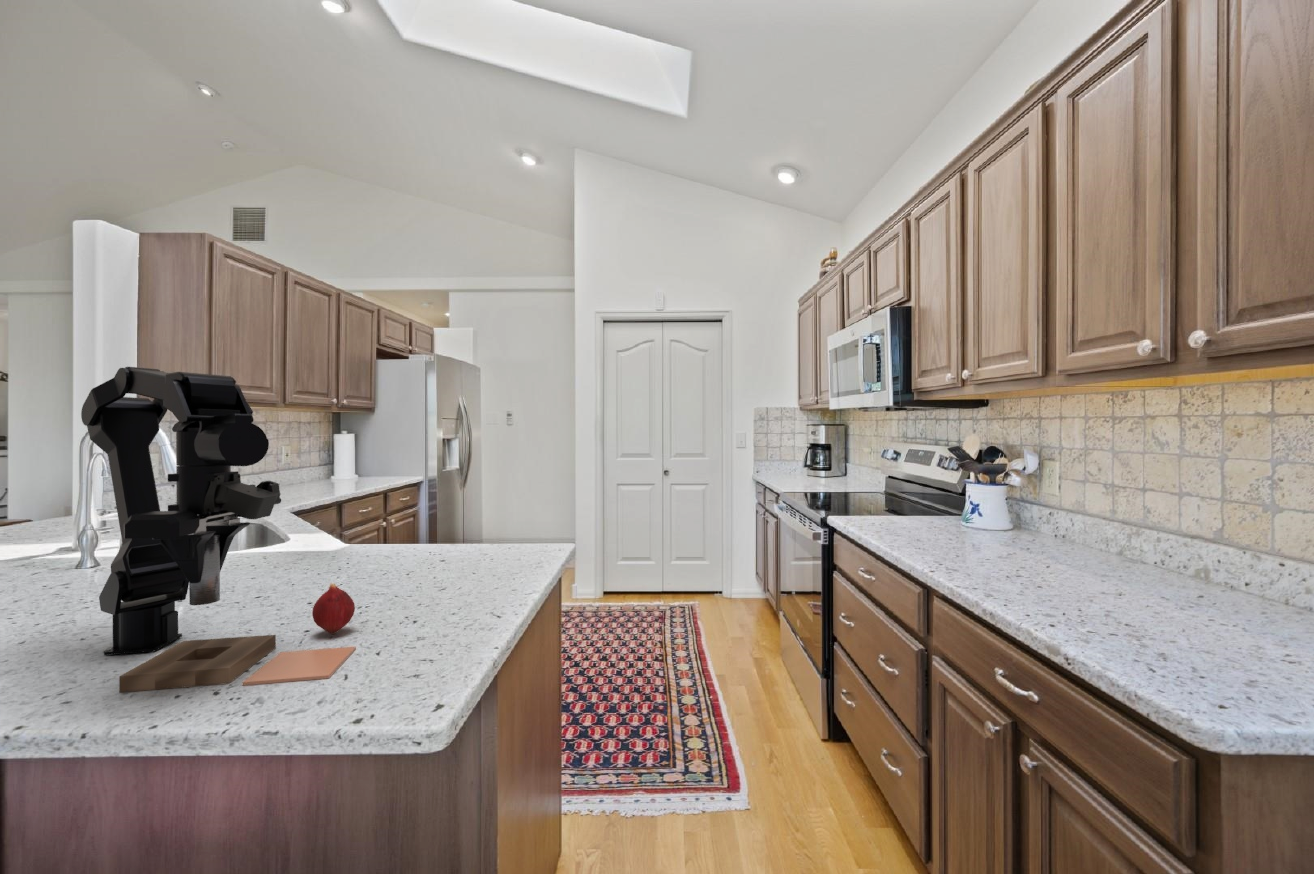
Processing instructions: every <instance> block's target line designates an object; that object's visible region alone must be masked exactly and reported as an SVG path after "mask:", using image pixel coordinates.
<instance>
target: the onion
mask: <svg viewBox="0 0 1314 874" xmlns="http://www.w3.org/2000/svg"><path fill="white" fill-rule="evenodd" d="M355 610H356V606H355V601H354V600H353V598H352V597H351V596H350V595H349V594H348V593H347V592H346V591H345V590H343V589H341V588H340V587H338V586H337V585H336V583H333V582H332V583H330V584H329V587H328V590H327V591H324V593H322V595H321V596H320V597H319V598H318V599H317V600H316V602H315V603H314V605H313V607H312V613H311V614H312V619H313V622H314V623H315V624H316V626H317V627H319V628H321V629H322V630H324V631H326V632H327V633H329V634H330V635H333V634H334V635H335V634H336V633H337V632H339V631H340V630H342V629H343V628H344V627H346V625H347V624H349V622H350V621H351V620H352V618H353V616H354V614H355Z"/></svg>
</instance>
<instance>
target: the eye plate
mask: <svg viewBox="0 0 1314 874" xmlns="http://www.w3.org/2000/svg"><path fill="white" fill-rule="evenodd" d="M276 636H277V635H276V634H268V635H267V634H266V635H255V636H252V635H251V636H250V635H249V636H238V637H225V638H224V637H222V638H209V639H206V638H205V639H193V640H182V641H181V642H179V643H177V644H175V645H172V647H170V648H168V649H166V650H164V651H163V652H161V653H159V654H158V655H155V656H153V657H152V658H150V659H148V660H146V661H145V662H143V663H141V664H139V665H137V666H135V667H134V668H131V669H130V670H127V671H126V672H125V673H122V674H121V675H119V677H118V679H119V680H118V681H119V683H118V686H119V689H118V690H119V691H118V692H119V693H129V692H139V691H140V692H142V691H144V692H145V691H154V690H155V691H156V690H165V689H177V688H178V689H181V688H189V687H191V688H192V687H201V686H203V687H205V686H214V685H225V684H226V685H228V684H230V683H232V682H233V681H235V680H236V679H238V677H240V676H241V675H242V674H244V673H245V672H246V671H247V670H249V669H250V668H252V667H253V666H254V665H255V664H257V663H258V662H260V661H261V660H262V659H264V658H265V657H266V656H267V655H269V654H270V653H271V652H273V651H274V650H275V649H276V647H277V646H276V645H277V644H276V643H277V642H276V639H277V638H276Z"/></svg>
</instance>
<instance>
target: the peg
mask: <svg viewBox="0 0 1314 874" xmlns="http://www.w3.org/2000/svg"><path fill="white" fill-rule="evenodd" d="M220 574H221V571H220V534H214V535H213V536H212V537H211V538H210V539H209V540H208V541H207V542H206V543H205V549H204V559H203V569H202V576H201V581H200V582H199V583H190V582H189V585H188V590H189V605H190V606H202V605H203V606H204V605H209V604H214V603H217V602H219V601H220V600H221V575H220Z"/></svg>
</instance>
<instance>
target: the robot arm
mask: <svg viewBox="0 0 1314 874" xmlns="http://www.w3.org/2000/svg"><path fill="white" fill-rule="evenodd" d="M116 371H117V372H116V373H115V374H114V377H112V378H111V379H109V380H106V381H105V382H102V384H99V385H97V386H95V387H93V388H91V390H90V392H89V393H88V395H87V397H86V398H85V401H84V403H83V404H82V408H81V413H80V415H81V422H82V424H83V425H84V426H85V427H86V428H87V432H88V436H89V439H90V441H91V442H93V444H95V445H96V446H97V447H98V448H100V449H101V450H102V451H103V452H104V453H105V454H107V458H108V463H109V470H110V476H111V482H112V488H113V495H114V501H115V506H116V513H117V519H118V524H119V530H120V536H121V543H122V546H121V547H120V548H119V550H118V552H117V553H116V556H115V557H114V559H113V560H112V562H111V564H110V574H109V576H108V577H107V580H106V582H105V584H104V586H103V588H102V590H101V592H100V594H99V596H98V601H99V606H100V611H101V612H103V613H107V614H108V615H112V647H110V648H108V649H106V650H104V651H103V655H105V656H107V655H108V656H109V655H122V654H123V655H124V654H139V653H150V652H156V651H157V650H160V649H161V648H163V647H165V646H168V645H169V644H170V643H173V642H175V641H177V640H178V639H180V638H182V636H183V633H181V632H180V633H179V611H178V610H176V602H178V601H185V600H186V598H187V595H188V590H189V582H190V583H199V582H200V581H201V576H202V569H203V559H204V549H205V543H206V542H207V541H208V540H209V539H210V538H211V537H212V536H213V535H214V534H220V572H221V570H222V569H223V565H224V563H225V561H226V557H227V555H228V552H229V549H230V547H231V544H232V543H233V539H234V538H235V537H236V535H237V534H238V533H240V532H241V531H242V530H243V529H245V528H247V527H249V526H250V524H251V522H241V518H243V519H248V520H258V519H261V518H266V517H267V518H268V517H271V515H272V512H273V510H274V508H275V505H279V504H281V503H282V499H281V497H280V496H281V495H282V494H281V490H280V484H279V483H278V482H275V481H272V480H264V481H261V482H259V483H258V484H257V485H256V484H246V483H244V482H242V481H241V474H240V473H239V471H235V470H234V471H231V468H232V467H249V466H253V465H256V464H257V463H259V462H260V461H262V459H264V457H265V456H266V455H267V453H268V451H269V446H270V443H269V442H270V441H269V439H268V437H267V434H266V433H265V431H264V430H263V429H262V428H260V427H259V426H258V425H256V424H255V423H253V422H254V417H253V413H254V410H253V409H252V408H251V406H250V404H249V402H248V401H247V399H246V397H245V395H244V392H243V391H242V388H241V387H240V385H238V384H236V383H237V381H236V379H235V378H234V377H233V376H231V375H222V374H221V375H220V374H209V373H198V372H187V371H173V372H165V371H164V370H163V371H161V370H160V369H158V368H149V367H136V366H125V367H120V368H119V369H118V370H116ZM127 394H134V395H139V396H143V397H130V396H129V397H128V396H126V395H127ZM146 397H147V398H146ZM151 399H153V400H151ZM168 411H170V413H172V414H173V416H174V417H175V418H176V419H177V422H176V423H174V425H173V426H172V428H171V431H172V432H173V433H175V435H176V436H175V440H176V441H175V442H176V444H175V446H176V448H175V449H176V451H175V452H176V453H175V455H176V459H175V461H176V462H175V463H176V472H175V473H168V474H167V482H170V483H171V482H176V503H174V504H173V503H172V504H168V505H167V510H164V511H163V510H161V508H160V503H159V496H158V492H157V491H158V489H157V485H156V480H155V474H154V468H153V464H152V458H151V453H150V445H151V444H152V442H153V441H154V439H155V438H156V436H157V435H158V433H159V431H160V424H161V422H162V420H163V418H164V417H165V416H166V414H167V412H168Z"/></svg>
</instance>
